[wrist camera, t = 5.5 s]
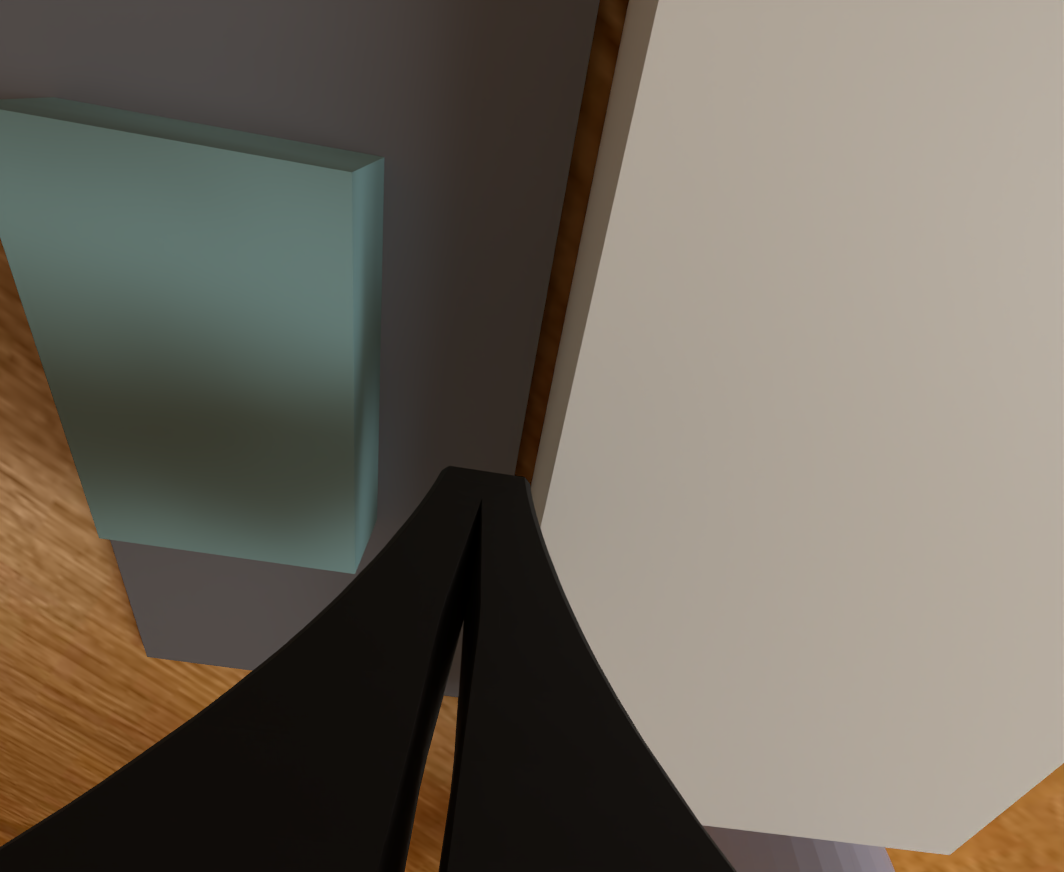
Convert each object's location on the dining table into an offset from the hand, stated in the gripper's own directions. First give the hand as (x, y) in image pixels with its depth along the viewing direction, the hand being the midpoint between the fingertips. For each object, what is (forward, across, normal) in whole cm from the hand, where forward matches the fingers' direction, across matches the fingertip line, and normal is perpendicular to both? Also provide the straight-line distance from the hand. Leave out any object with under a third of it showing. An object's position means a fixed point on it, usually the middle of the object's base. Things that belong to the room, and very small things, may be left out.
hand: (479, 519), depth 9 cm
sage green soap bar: (+3, +6, 0) cm, 7 cm away
